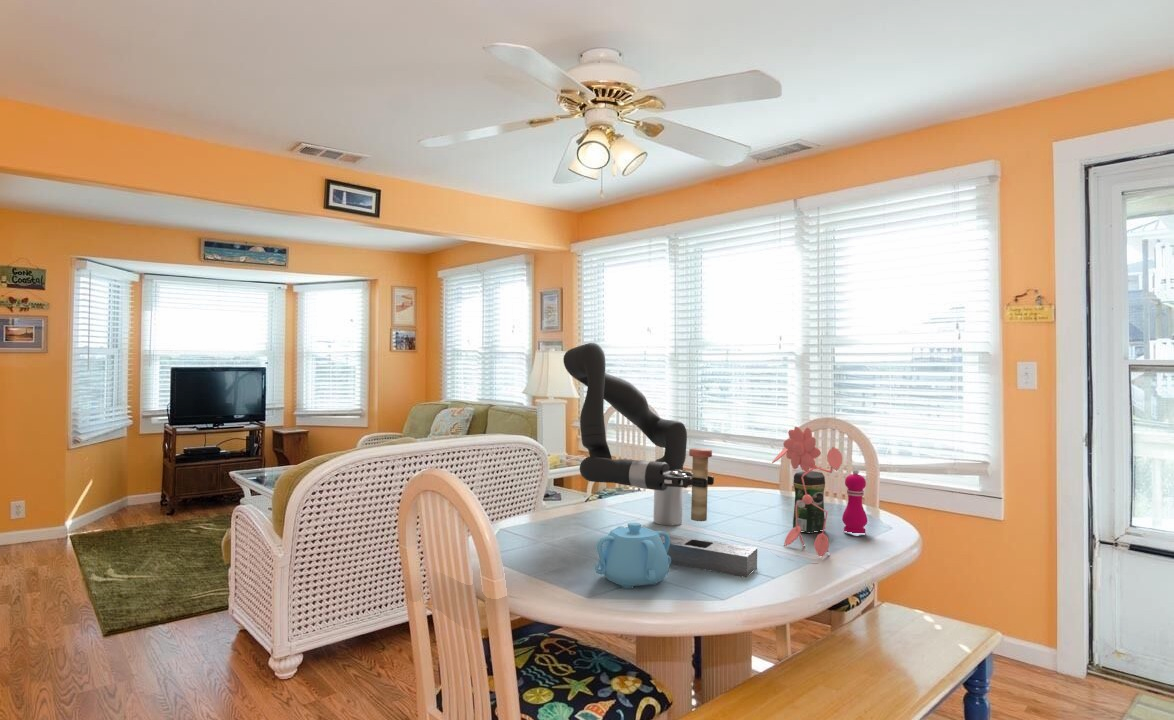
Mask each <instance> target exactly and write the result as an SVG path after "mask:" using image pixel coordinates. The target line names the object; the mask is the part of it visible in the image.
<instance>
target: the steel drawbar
mask: <svg viewBox="0 0 1174 720" xmlns="http://www.w3.org/2000/svg"><path fill="white" fill-rule="evenodd" d="M667 534H668V535H669V537H670V546H669V549H668V552H667V555H669V556H670V558H671V564H672V565H677V566H683V567H688V568H692V569H698V568H699V569H700V570H704V569H706V570H705V571H709V570H711V571H710V572H714V571H716V572H715V573H720V572H721V574H725V573H726V574H727V575H733V576H736V575H737V577H742V576H743V578H748V577H749V576H750V575H751V574H752V573H753V572H754V571H755V570H756V569H757V568H758V547H753V546H747V545H739V544H734V543H727V542H721V541H715V540H714V541H713V540H709V539H703V538H698V537H697V538H695V537H689V536H684V535H683V536H682V535H677V534H671V533H667ZM659 536H660V538H661V540H662V543H663V545H664V542H665V537H664V536H663V535H659ZM671 564H670V565H671ZM753 570H754V571H753ZM752 571H753V572H752ZM751 572H752V573H751ZM750 573H751V574H750ZM749 574H750V575H749ZM748 575H749V576H748ZM747 576H748V577H747Z"/></svg>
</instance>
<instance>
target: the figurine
mask: <svg viewBox="0 0 1174 720" xmlns="http://www.w3.org/2000/svg"><path fill="white" fill-rule="evenodd" d="M787 433H788V437H789V438H788V439H785V441H784V442H783V445H782V446H783V447H784V449H783V450H781V451H780V452H779V453H778V454H777V456H775V457H774V459H773V460H772V462H771V464H774V463H776V462H777V461H778V460H780V459H781V458H782V457H784V456H785V455H786V458H787V459H789V460H790V464H791V467H792V469H793V470H796V469H798V468H799V466H800V468H801V470H802V471H803V472H806V473H804V474H803V475H802V476H803V477H804V476H805V475H806V474H808V473H809V472H811V471H814V470H820V471H823V472H827V473H830V474H832V473H833V470H835V471H839V469H840V467H841V466H842V464H843V455H842V452H841V451H840V450H839V449H838V448H836V447H835V446H832V447H831V449H829V450H828V452H827V455H826V460H827V463H828V465H829V466H830V470H829V469H826V468H822V467H820V466H818V465H817V464H816V461H815V459H817V458H818V457H820V456H821V453H822V452H821V450H820V449H819V448H818V447H816V441H817V440H816V438H815V437H814V436H813V433H812V430H811V427H805V429H804V430H803V431H802V429H801V428H800V427H798V426H795V427H794V429H789V430H788V432H787ZM803 477H801V479H802V483H803V486H804V490H805V494H806V495H804V496H803V498H802V500H801V501H800V502H802V501H803V502H804V503H805V504H813V505H815V504H814V503H812V501H813V499H812V497H811V496H810V495H807V493H806V488H805V484H804V479H803ZM800 502H798V503H796V527H794V528H793V527H792V528H791V530H790V531H789V532H788V533H787V535H786V537H785V540H784V545H783V547H787V546H789V545H791V544H792V543H794V542H795V541H796V540H797V539H798V538H799V539H800V541H801V545H802V546H803V545H804V544H805V542H804V540H803V536H802V532H801V527H800V526H797V504H799V503H800ZM815 506H816V507H818V508H820V507H819V506H817V505H815ZM820 509H821V510H823V511H824V513H825V515H824V516H825V521H824V526H823V531H821V533H819V534H817V536H816V538H815V540H814V544H813V546H814V549H815V551H816V554H817V555H818V556H822V557H823V556H824V555H825V554H826V553H827V552H829V553H830V551H829V547H830V542H829V539H828V536H827V535H826V534H825V530H826V523H827V520H828V519H827V518H828V511H827V510H826V509H825V508H824V509H822V508H820ZM824 529H825V530H824Z"/></svg>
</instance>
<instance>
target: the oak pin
mask: <svg viewBox="0 0 1174 720" xmlns="http://www.w3.org/2000/svg"><path fill="white" fill-rule="evenodd" d="M688 455H689V457H692V462H691V463H692V465H691V466H692V467H691V468H692V469H691V470H692V477H696V478H705V479H707V480H708V476H709V458H712V457H713V450H712V449H708V448H689V450H688ZM708 486H709V485H708ZM708 486H707V487H706V488H704V487H695V486H693V487H691V502H690V503H691V508H690V509H691V510H690V511H691V512H690V513H691V514H690V519H691V520H692V521H694V522H706V521H708V520H707V518H708V515H707V514H708Z"/></svg>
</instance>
